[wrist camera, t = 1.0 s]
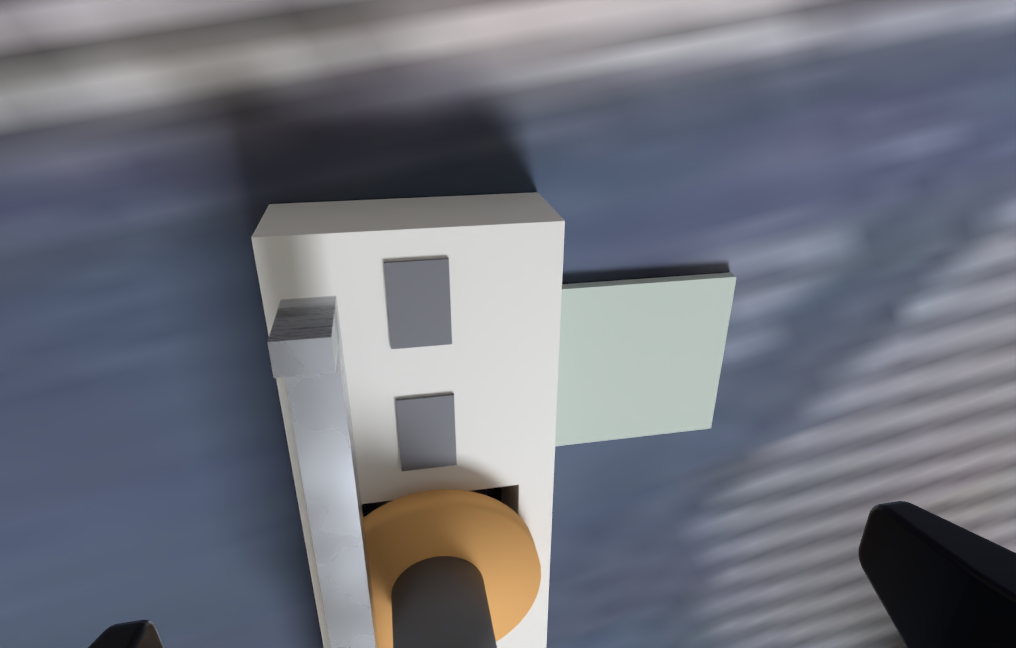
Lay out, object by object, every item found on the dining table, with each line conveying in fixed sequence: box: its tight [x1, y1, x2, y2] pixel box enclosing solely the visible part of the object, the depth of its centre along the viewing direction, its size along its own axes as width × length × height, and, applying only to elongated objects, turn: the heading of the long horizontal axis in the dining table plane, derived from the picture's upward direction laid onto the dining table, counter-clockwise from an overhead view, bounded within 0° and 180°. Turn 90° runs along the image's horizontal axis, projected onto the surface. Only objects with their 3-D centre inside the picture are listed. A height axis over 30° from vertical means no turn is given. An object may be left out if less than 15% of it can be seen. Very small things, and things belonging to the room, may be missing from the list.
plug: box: [363, 489, 541, 648], centre depth 20 cm, size 6×6×8 cm
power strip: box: [251, 192, 565, 648], centre depth 21 cm, size 20×8×4 cm, turn 0°
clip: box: [267, 296, 379, 648], centre depth 17 cm, size 17×2×2 cm, turn 0°
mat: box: [555, 272, 736, 446], centre depth 22 cm, size 6×6×1 cm
